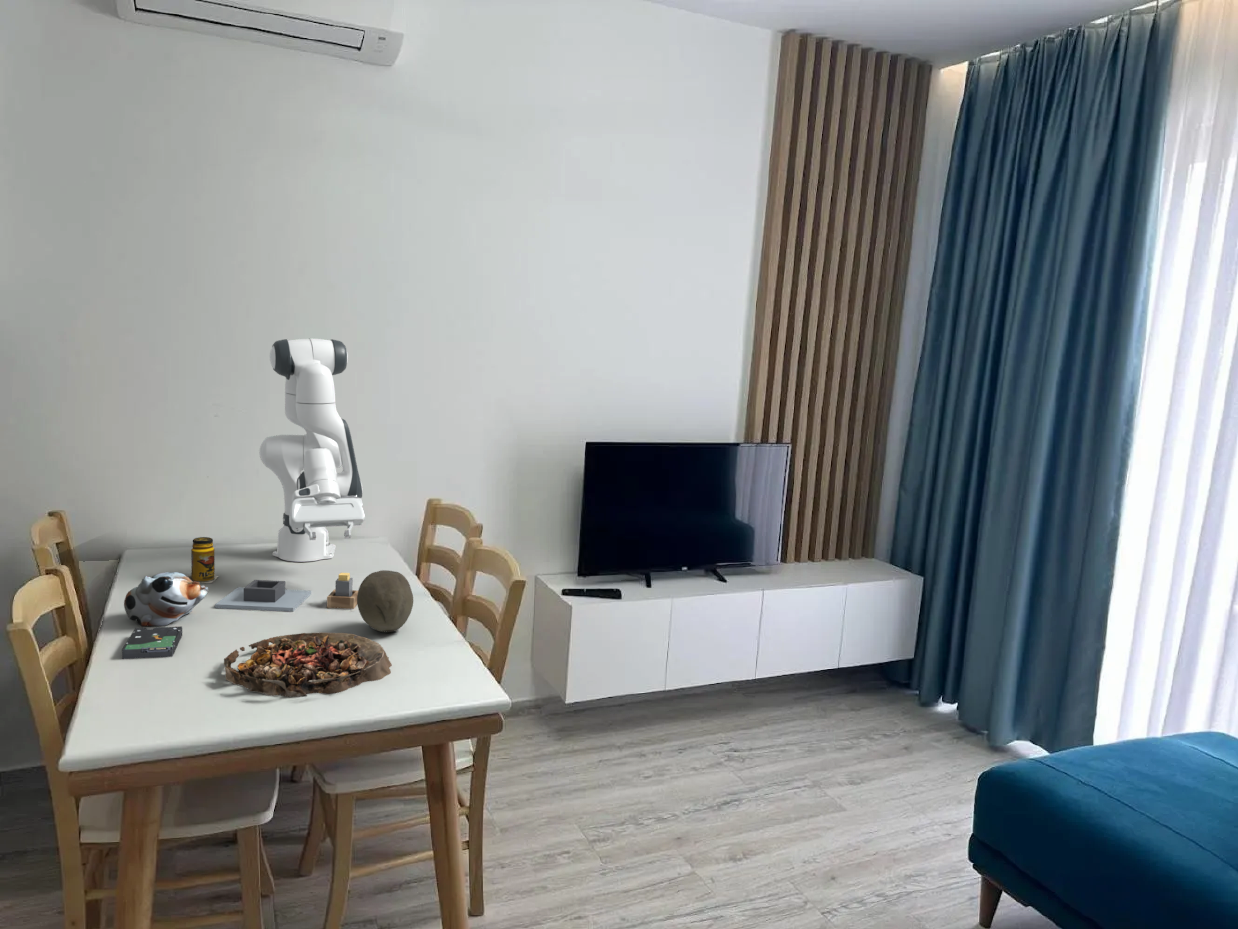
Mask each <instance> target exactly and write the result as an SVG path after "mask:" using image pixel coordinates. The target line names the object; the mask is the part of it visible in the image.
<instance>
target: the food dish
mask: <svg viewBox="0 0 1238 929" xmlns="http://www.w3.org/2000/svg"><path fill="white" fill-rule="evenodd" d="M270 643H271V644H270ZM248 647H249V648H251V650H254V649H256V650H255V652H254V653H252V654H251V657H250V659H249V658H248V659H247V660H246V661H245V662H239V663H238V665H237V666H236V667H237V669H235V668H233V667H232V664H234V663H236V661H237V659H238V658H239V656H240V654H239V653H240V651H241V652H245V650H246V649H245V647H244V646H242V647H239V650H240V651H238V649H235V650H234V651H233V652H230V653H229V654H228V655H227V656H226V657H225V658H224V659H223V666H224V670H225V680H226V681H228V682H230V683H233V684H234V685H237V686H242V687H243V688H246V689H248V690H246V692H247V693H252V692H254V693H258V694H263V695H266V696H270V697H275V696H280V697H281V696H282V697H285V698H300V697H304V696H306V697H308V695H311V694H324V695H325V694H326V695H330V694H331V695H332V694H333V695H334V694H338V693H342V692H345V691H347V690H348V689H353V688H355V687H357V686H360V685H361V684H363V683H366V682H374V681H380V680H383V679H384V678H385V677H386V676H389V675H390V674H391V673H392V671H391V669H390V668H391V667H392V663H391V661H390V659H389V656H388V655H387V653H386V651H385V649H384V647H383V646H382V644H380V643H379V642H377V641H375V640H373V639H370V638H367V637H364V636H360V635H357V634H353V633H346V632H324V631H322V632H321V631H320V632H301V633H295V634H294V633H292V634H284V635H278V636H276V635H275V636H273V637H269V638H267V639H261V640H259V641H257V642H254V643H250V644H249V645H248Z"/></svg>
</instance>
